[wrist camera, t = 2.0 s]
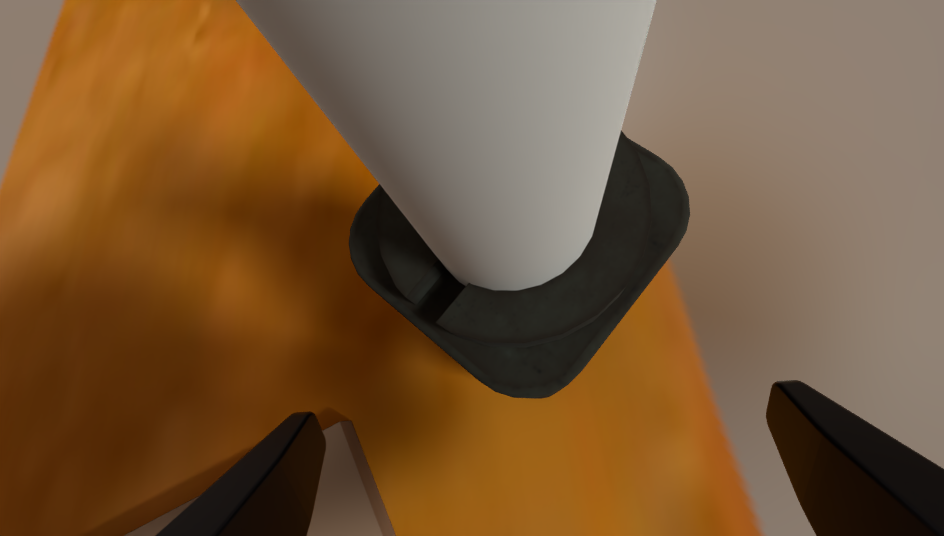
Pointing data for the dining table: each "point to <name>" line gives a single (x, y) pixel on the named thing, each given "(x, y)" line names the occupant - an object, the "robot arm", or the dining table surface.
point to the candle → (493, 169)
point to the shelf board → (329, 493)
